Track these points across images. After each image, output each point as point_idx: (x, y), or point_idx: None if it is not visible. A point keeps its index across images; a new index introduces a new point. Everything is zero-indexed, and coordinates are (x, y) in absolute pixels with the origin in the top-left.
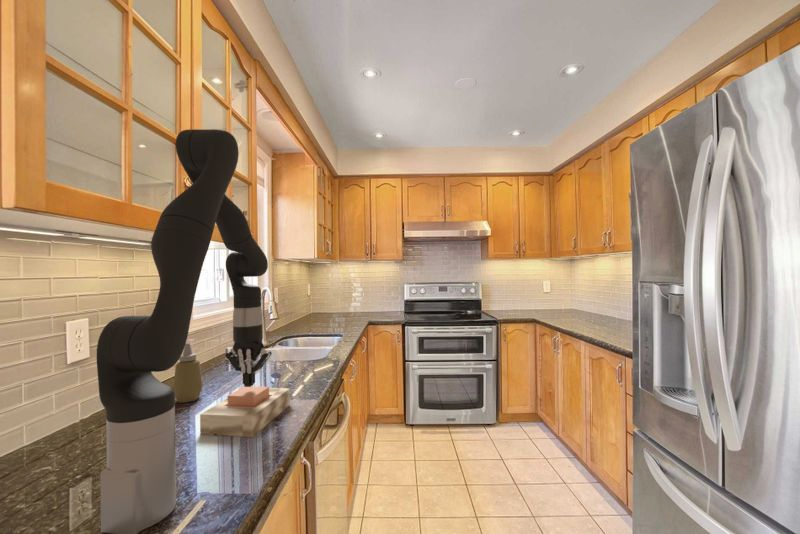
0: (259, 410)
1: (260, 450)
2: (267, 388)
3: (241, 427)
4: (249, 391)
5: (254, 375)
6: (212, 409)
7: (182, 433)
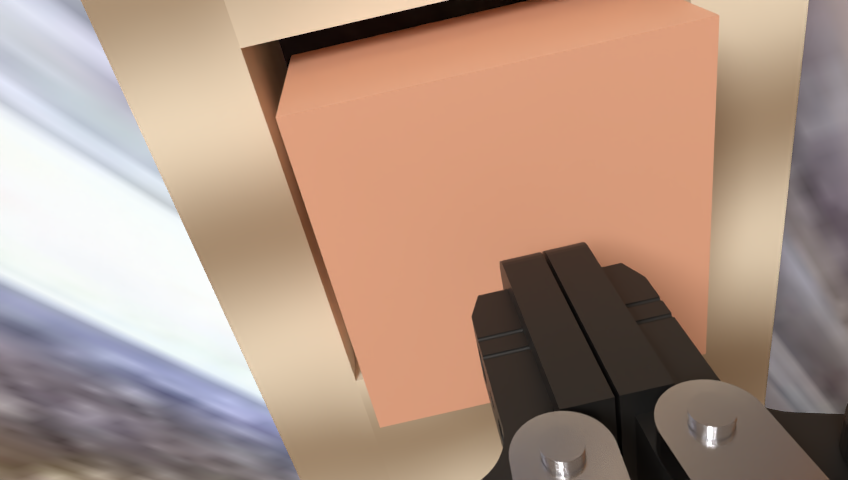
0: (766, 338)
1: (812, 397)
2: (711, 58)
3: None
4: None
5: (697, 366)
6: (330, 454)
7: (196, 437)
